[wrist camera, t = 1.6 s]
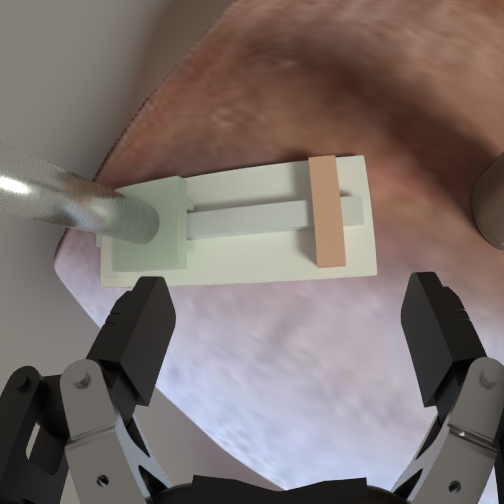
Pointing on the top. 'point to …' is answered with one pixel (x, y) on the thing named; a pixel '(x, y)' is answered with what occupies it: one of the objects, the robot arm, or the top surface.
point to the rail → (271, 246)
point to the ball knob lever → (102, 210)
